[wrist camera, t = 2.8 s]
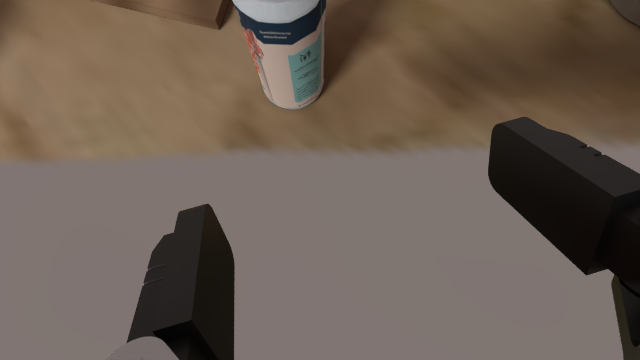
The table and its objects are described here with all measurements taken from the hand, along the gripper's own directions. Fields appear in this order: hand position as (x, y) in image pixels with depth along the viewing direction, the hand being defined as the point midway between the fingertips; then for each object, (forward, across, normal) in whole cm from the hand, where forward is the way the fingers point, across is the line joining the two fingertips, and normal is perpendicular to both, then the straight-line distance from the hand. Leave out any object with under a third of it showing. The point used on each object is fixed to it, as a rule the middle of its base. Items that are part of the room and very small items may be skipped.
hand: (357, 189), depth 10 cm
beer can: (+20, 0, +3) cm, 20 cm away
